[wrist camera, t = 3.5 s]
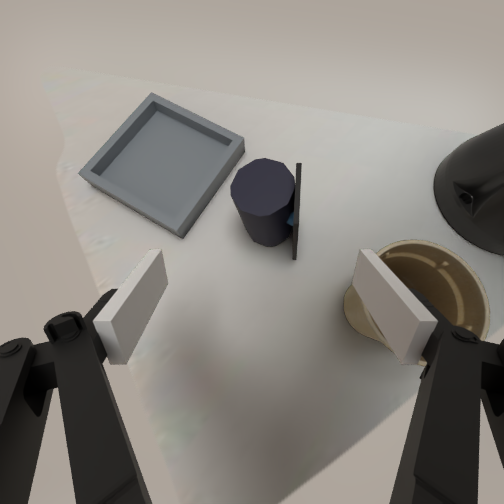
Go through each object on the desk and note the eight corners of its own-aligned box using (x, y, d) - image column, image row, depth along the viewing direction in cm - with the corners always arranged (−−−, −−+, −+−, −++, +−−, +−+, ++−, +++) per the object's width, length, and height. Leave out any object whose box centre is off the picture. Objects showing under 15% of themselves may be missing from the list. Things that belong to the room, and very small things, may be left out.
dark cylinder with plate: (314, 218, 29) (331, 164, 19) (295, 261, 28) (303, 227, 18) (257, 196, 31) (246, 136, 21) (237, 236, 30) (214, 192, 20)
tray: (244, 151, 32) (244, 137, 30) (182, 238, 29) (176, 231, 26) (158, 108, 34) (151, 92, 32) (91, 185, 31) (77, 173, 28)
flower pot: (342, 251, 28) (379, 221, 20) (424, 284, 27) (499, 266, 19) (315, 330, 26) (345, 333, 18) (404, 369, 25) (480, 392, 17)
